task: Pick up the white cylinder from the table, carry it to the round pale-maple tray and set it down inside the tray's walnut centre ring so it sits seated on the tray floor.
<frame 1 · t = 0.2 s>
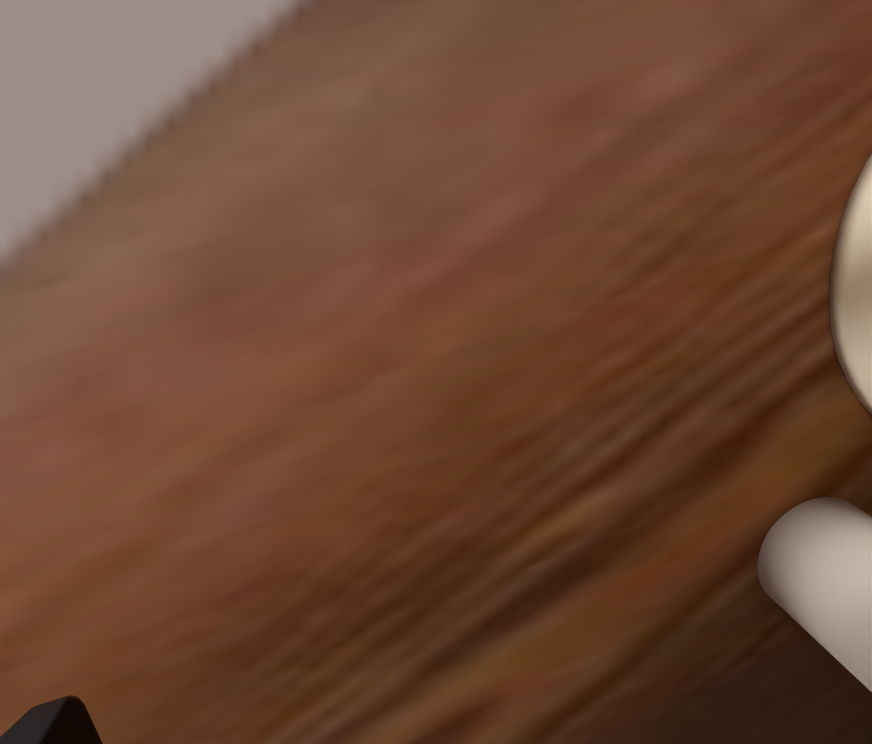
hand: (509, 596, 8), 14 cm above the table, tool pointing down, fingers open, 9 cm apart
white cylinder: (813, 553, 27), on the table
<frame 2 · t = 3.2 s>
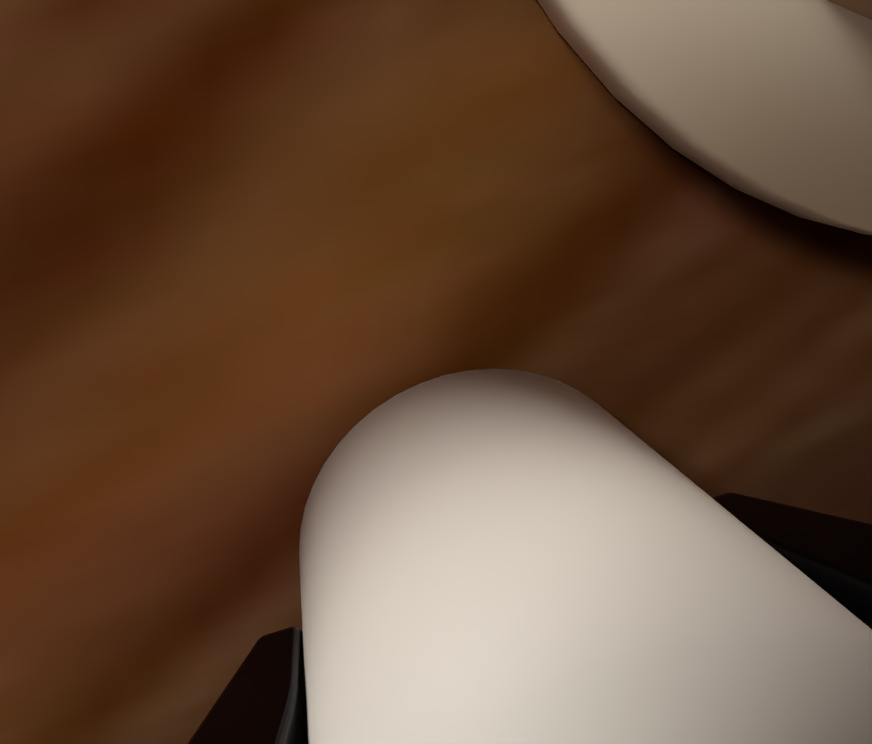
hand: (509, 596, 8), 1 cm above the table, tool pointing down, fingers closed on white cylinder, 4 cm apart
white cylinder: (480, 540, 9), on the table, touching gripper
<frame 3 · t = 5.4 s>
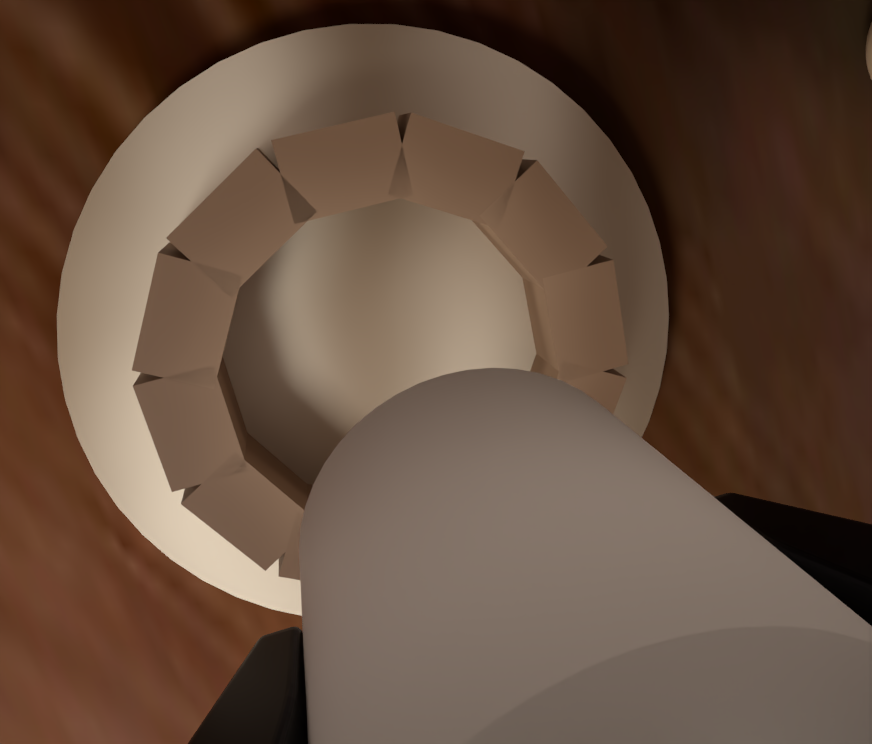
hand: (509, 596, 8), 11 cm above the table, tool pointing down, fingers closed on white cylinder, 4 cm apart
tray: (381, 346, 18), on the table
white cylinder: (481, 540, 9), point 10 cm above the table, touching gripper
when the fingers open (3 cm above the table, at t = 7.5 s): white cylinder stays where it is, resting on tray.
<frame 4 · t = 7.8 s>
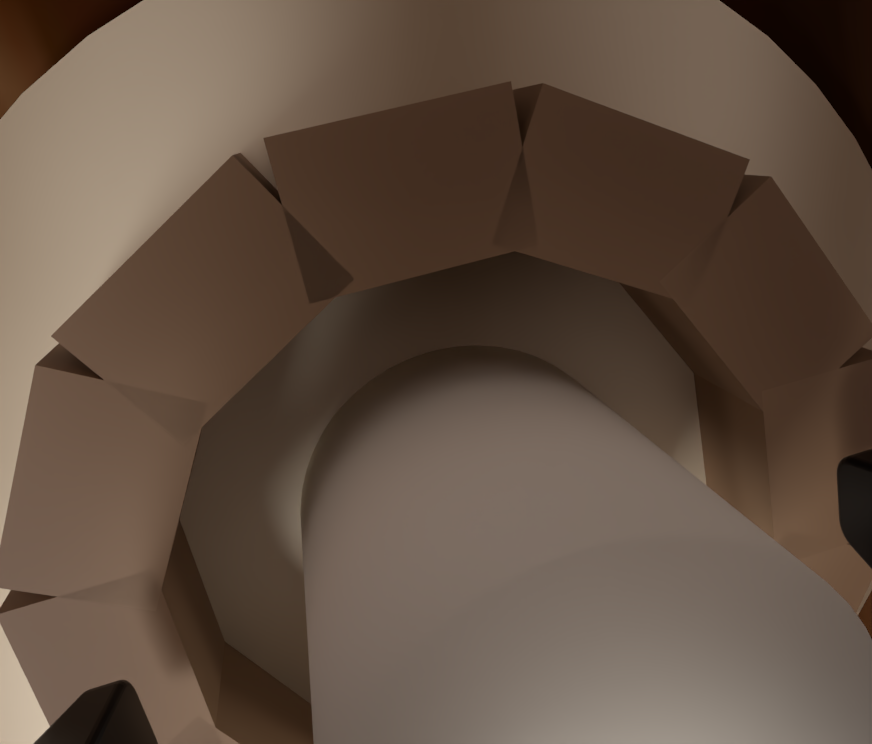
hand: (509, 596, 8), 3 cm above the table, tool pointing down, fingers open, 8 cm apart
tray: (449, 481, 11), on the table
white cylinder: (466, 503, 10), point 1 cm above the table, touching tray
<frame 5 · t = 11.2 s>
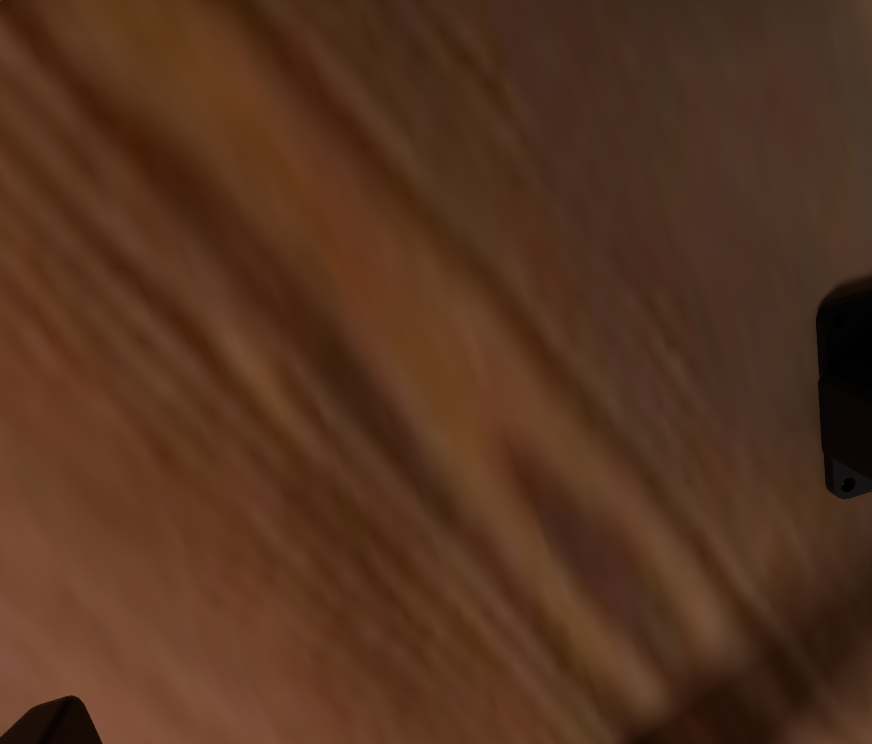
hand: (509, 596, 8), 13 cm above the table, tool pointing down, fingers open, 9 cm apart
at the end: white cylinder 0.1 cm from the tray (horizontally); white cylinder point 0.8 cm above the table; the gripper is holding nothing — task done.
